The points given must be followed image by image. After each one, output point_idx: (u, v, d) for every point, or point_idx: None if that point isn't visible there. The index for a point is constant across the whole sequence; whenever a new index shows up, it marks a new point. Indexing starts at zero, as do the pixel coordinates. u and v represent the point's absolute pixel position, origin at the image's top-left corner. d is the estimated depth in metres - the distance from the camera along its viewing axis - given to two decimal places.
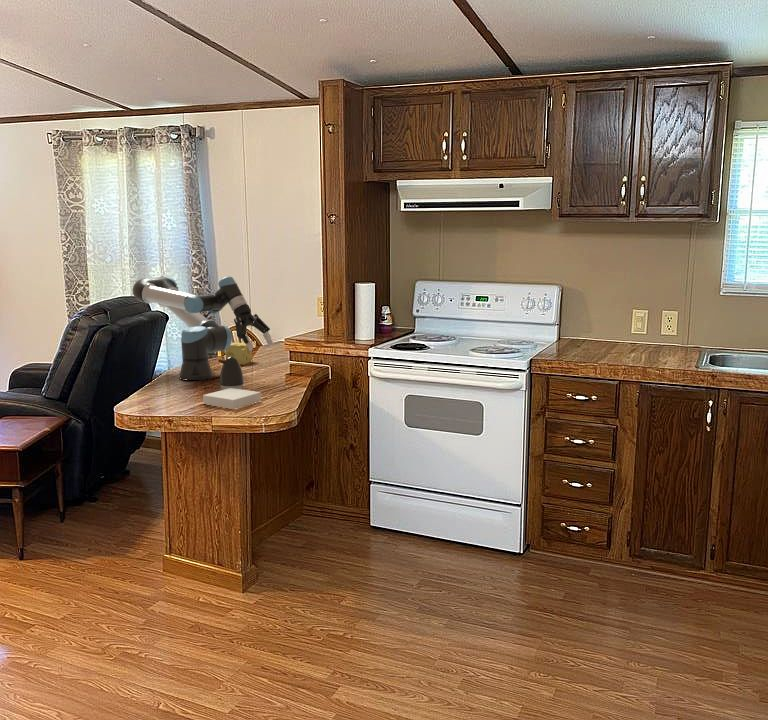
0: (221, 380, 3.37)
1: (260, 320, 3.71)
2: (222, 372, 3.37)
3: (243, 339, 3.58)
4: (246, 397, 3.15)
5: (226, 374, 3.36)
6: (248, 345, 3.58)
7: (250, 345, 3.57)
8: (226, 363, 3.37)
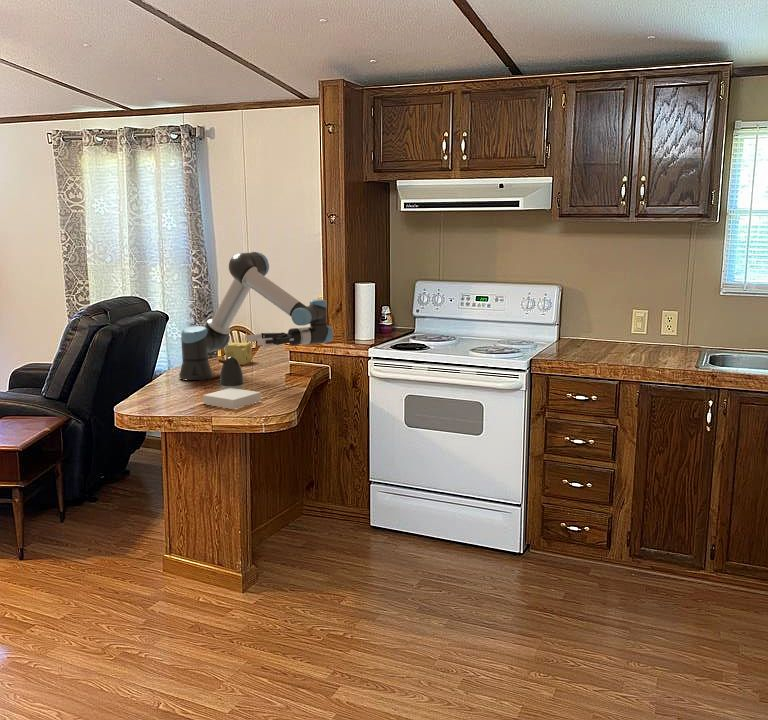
0: (221, 380, 3.37)
1: None
2: (222, 372, 3.37)
3: (271, 341, 3.38)
4: (246, 397, 3.15)
5: (226, 374, 3.36)
6: (263, 340, 3.37)
7: (261, 343, 3.37)
8: (226, 363, 3.37)
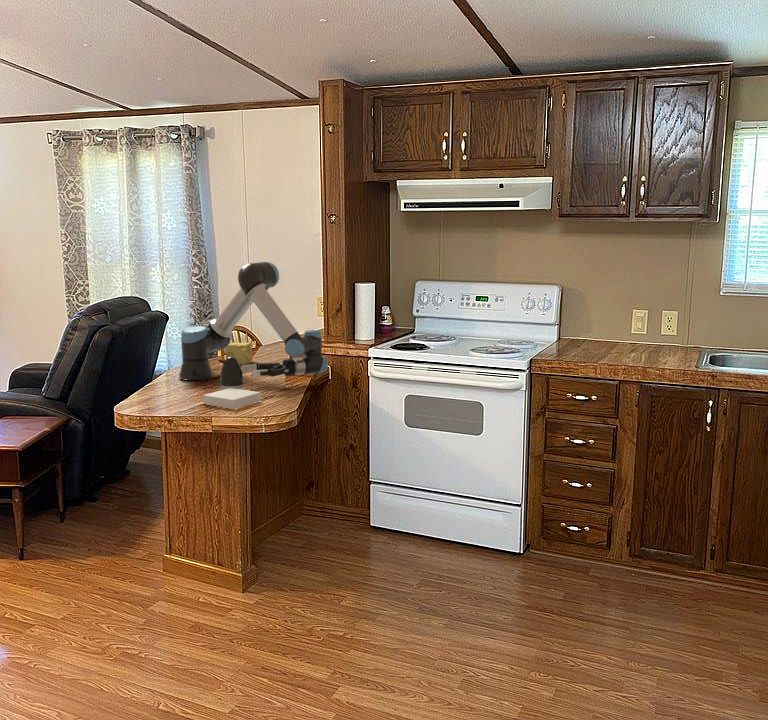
0: (221, 380, 3.37)
1: None
2: (222, 372, 3.37)
3: (266, 372, 3.38)
4: (246, 397, 3.15)
5: (226, 374, 3.36)
6: (257, 372, 3.38)
7: (256, 375, 3.38)
8: (226, 363, 3.37)
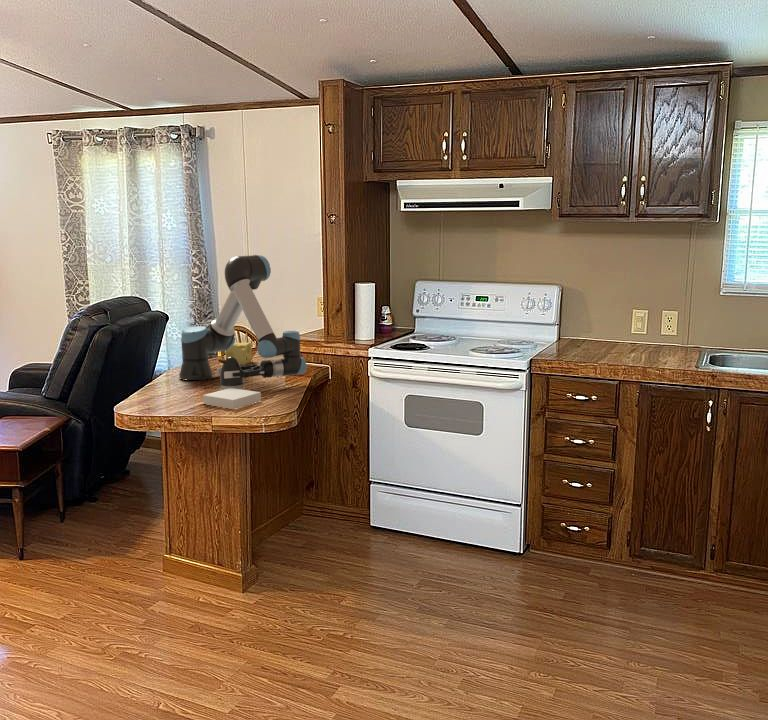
0: (221, 380, 3.37)
1: None
2: (222, 372, 3.37)
3: (238, 373, 3.35)
4: (246, 397, 3.15)
5: None
6: (230, 373, 3.34)
7: (228, 376, 3.34)
8: (226, 363, 3.37)
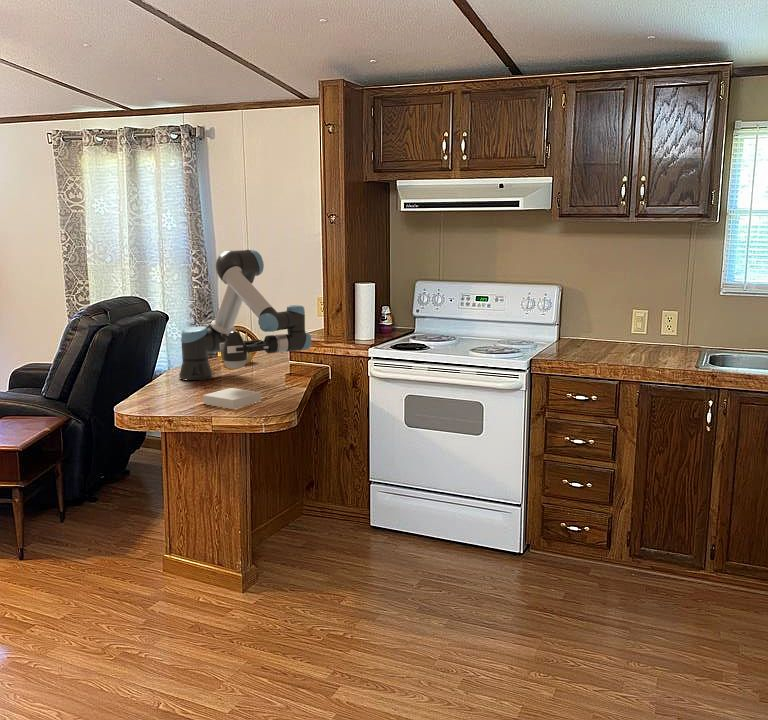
0: (224, 355, 3.27)
1: None
2: (225, 347, 3.26)
3: (241, 348, 3.24)
4: (246, 397, 3.15)
5: None
6: (233, 348, 3.24)
7: (231, 351, 3.23)
8: (229, 338, 3.26)
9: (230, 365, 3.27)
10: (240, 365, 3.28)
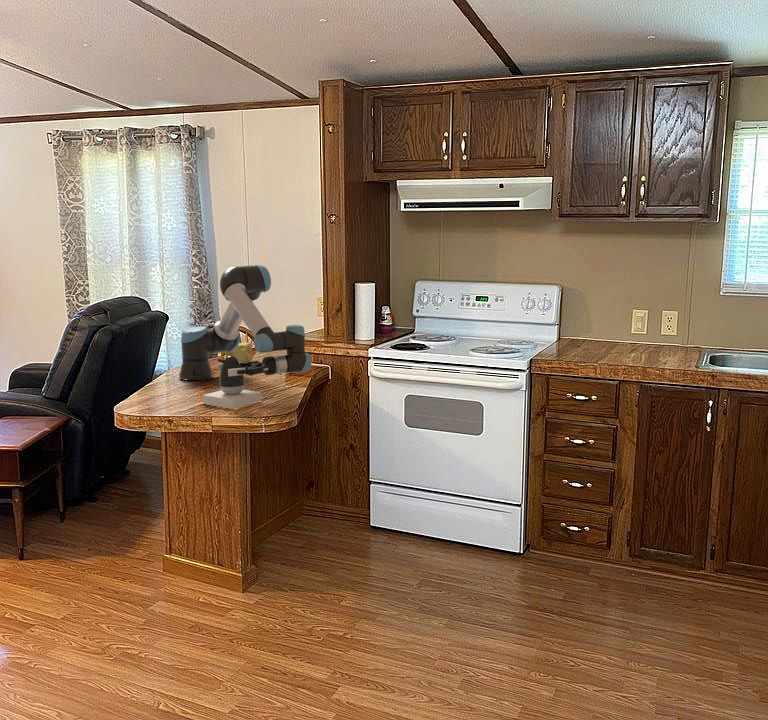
0: (221, 381, 3.16)
1: None
2: (222, 372, 3.16)
3: (243, 371, 3.12)
4: (246, 397, 3.15)
5: (226, 374, 3.14)
6: (234, 370, 3.11)
7: (232, 374, 3.11)
8: (226, 362, 3.15)
9: (227, 391, 3.16)
10: (237, 391, 3.17)
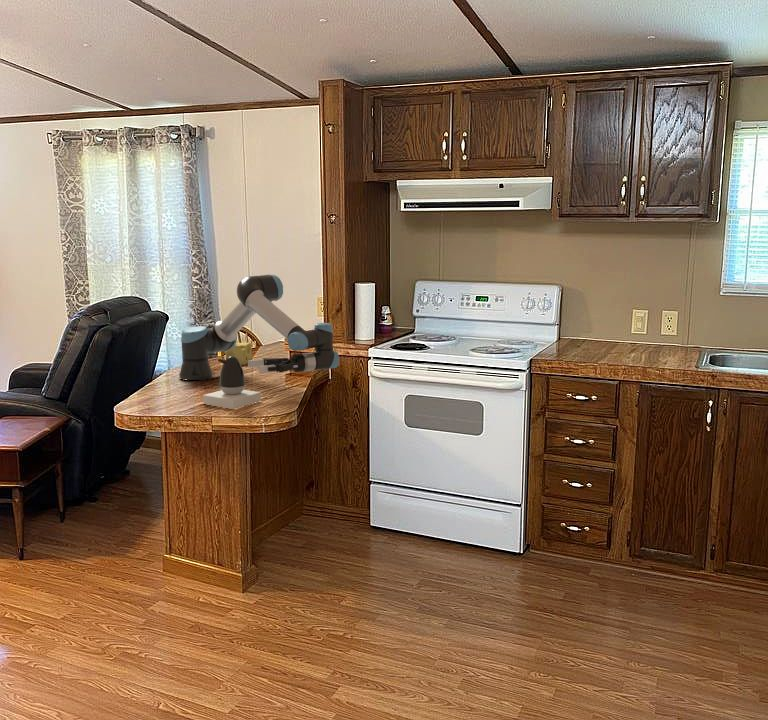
0: (221, 381, 3.16)
1: None
2: (222, 372, 3.15)
3: (273, 368, 3.17)
4: (246, 397, 3.15)
5: (226, 375, 3.14)
6: (265, 367, 3.17)
7: (263, 370, 3.17)
8: (226, 363, 3.15)
9: (227, 391, 3.16)
10: (237, 391, 3.17)
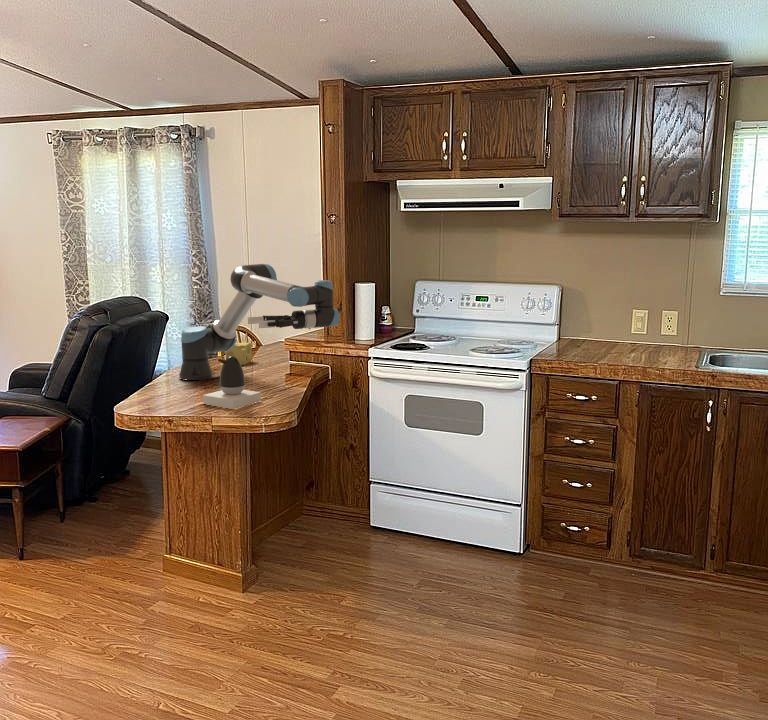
0: (221, 381, 3.16)
1: None
2: (222, 372, 3.15)
3: (273, 323, 3.15)
4: (246, 397, 3.15)
5: (226, 375, 3.14)
6: (265, 322, 3.14)
7: (263, 326, 3.14)
8: (226, 363, 3.15)
9: (227, 391, 3.16)
10: (237, 391, 3.17)
